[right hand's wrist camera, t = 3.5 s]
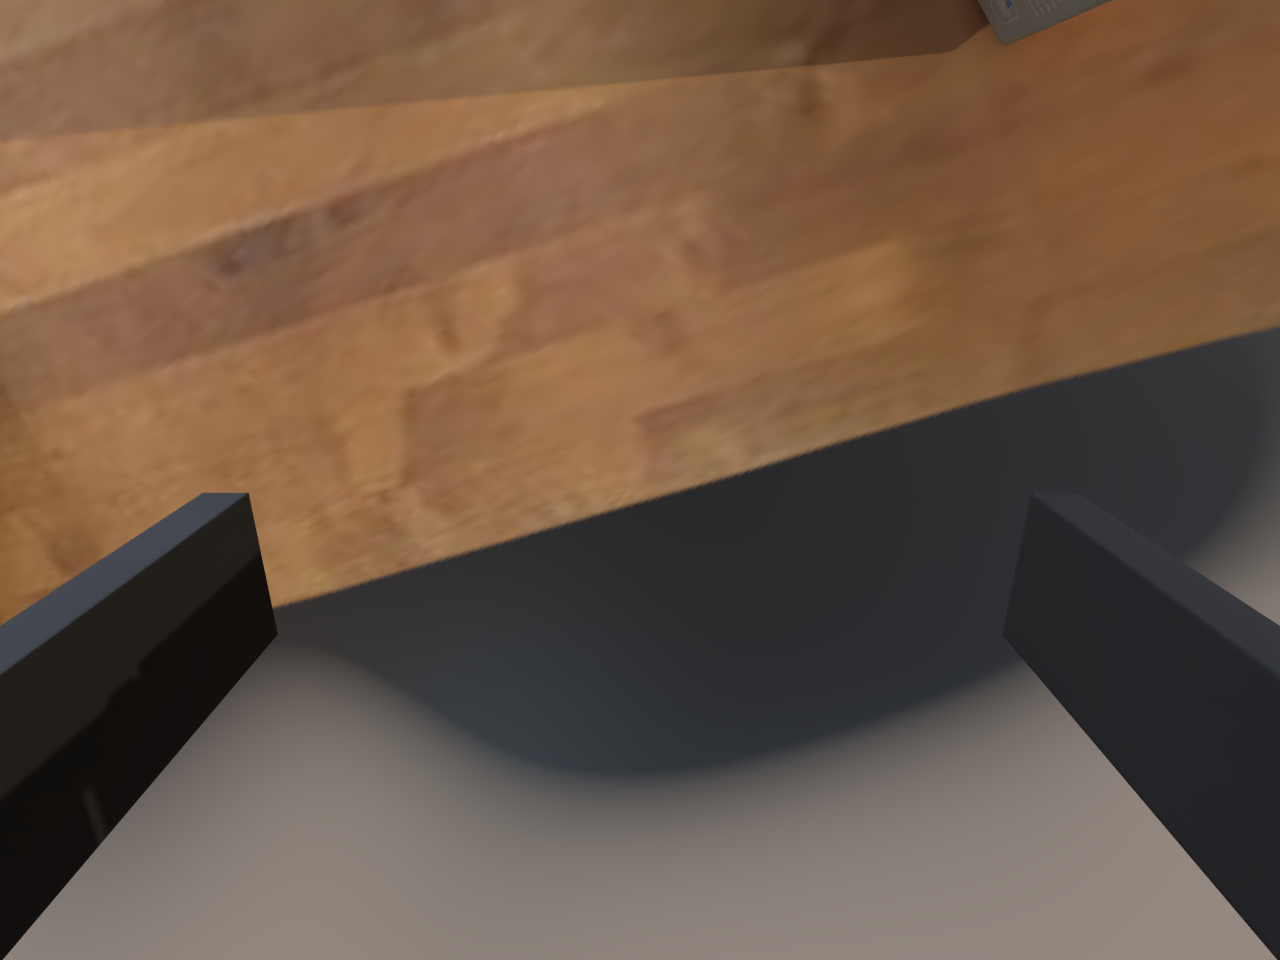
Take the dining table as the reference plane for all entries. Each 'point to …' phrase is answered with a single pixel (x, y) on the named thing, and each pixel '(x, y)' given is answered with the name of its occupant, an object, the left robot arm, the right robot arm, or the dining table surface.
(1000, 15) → the hard drive box
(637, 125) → the dining table surface
